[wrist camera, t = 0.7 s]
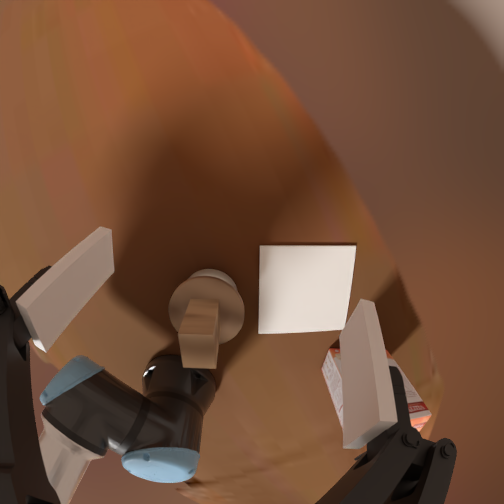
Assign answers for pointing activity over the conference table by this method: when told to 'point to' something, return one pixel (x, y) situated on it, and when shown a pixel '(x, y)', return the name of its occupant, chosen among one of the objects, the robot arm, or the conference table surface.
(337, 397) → the cracker box
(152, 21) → the conference table surface
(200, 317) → the lid
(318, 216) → the conference table surface
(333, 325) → the mat
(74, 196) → the conference table surface
